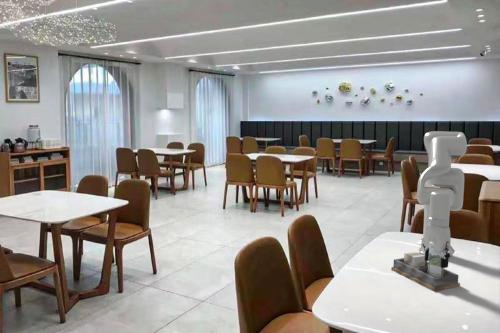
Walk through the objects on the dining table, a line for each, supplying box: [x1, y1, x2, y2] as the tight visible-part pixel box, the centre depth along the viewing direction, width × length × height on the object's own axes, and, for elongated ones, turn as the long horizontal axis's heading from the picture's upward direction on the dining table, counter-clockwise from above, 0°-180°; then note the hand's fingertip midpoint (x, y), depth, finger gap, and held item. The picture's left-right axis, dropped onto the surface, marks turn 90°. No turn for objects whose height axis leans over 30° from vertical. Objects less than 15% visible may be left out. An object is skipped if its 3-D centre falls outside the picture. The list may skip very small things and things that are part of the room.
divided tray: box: [391, 251, 461, 292], centre depth 186 cm, size 25×14×8 cm, turn 22°
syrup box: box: [428, 242, 443, 278], centre depth 180 cm, size 6×6×14 cm
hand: (436, 263), depth 180 cm, fingers closed on syrup box, 8 cm apart
